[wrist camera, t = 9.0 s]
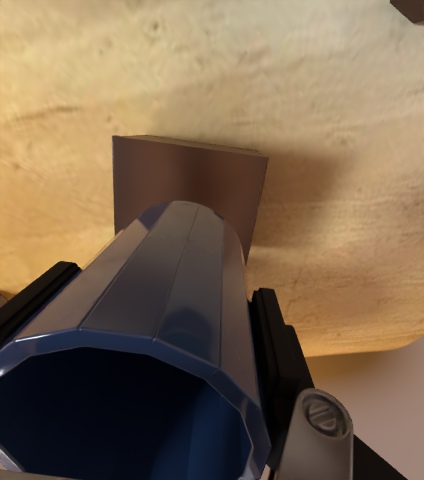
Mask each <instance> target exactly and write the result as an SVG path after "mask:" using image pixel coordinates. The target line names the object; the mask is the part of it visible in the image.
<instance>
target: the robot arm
mask: <svg viewBox="0 0 424 480" xmlns="http://www.w3.org/2000/svg"><path fill="white" fill-rule="evenodd" d="M80 269H81V268H80V267H78V265H77V264H76V263H72V262H64V261H60V262H58V263H57V264H55V265H54V266H53V267H51V268H50V269H49V270H48V271H46V272H45V273H44V274H42V275H41V276H40V277H39V278H37V279H36V280H35V281H34V282H32V283H31V284H30V285H28V286H27V287H26V288H25V289H23V290H22V291H21V292H20V293H18V294H17V295H16V296H14V297H13V298H12V299H11V300H9V301H8V302H7V303H6V304H4V305H3V306H2V307H0V345H1V344H2V343H3V342H4V341H5V340H6V339H7V338H9V337H10V336H11V335H12V334H13V333H14V332H15V331H16V330H17V329H18V328H19V327H20V326H21V325H22V324H23V323H24V322H25V321H26V320H27V319H28V318H30V317H31V316H32V315H33V314H34V313H35V312H36V311H37V310H38V309H39V308H40V307H41V306H42V305H43V304H44V303H45V302H46V301H47V300H48V299H49V298H50V297H52V296H53V295H54V294H55V293H56V292H57V291H58V290H59V289H60V288H61V287H62V286H63V285H64V284H65V283H66V282H67V281H68V280H69V279H70V278H71V277H73V276H74V275H75V274H76V273H77V272H78V271H79V270H80ZM251 306H252V313H253V320H254V327H255V333H256V340H257V347H258V354H259V360H260V367H261V374H262V381H263V387H264V394H265V399H266V406H267V413H268V419H269V426H270V433H271V439H272V449H271V452H270V454H269V457H268V460H267V462H266V464H267V465H268V466H269V468H270V470H269V474H268V477H267V480H408V479H406V478H405V477H404V476H403V475H402V474H400V473H399V472H398V471H397V470H396V469H395V468H393V467H392V466H391V465H390V464H389V463H387V462H386V461H385V460H384V459H383V458H381V457H380V456H379V455H378V454H377V453H376V452H374V451H373V450H372V449H371V448H370V447H369V446H367V445H366V444H365V443H364V442H363V441H361V440H360V439H359V438H358V437H357V436H356V435H354V434H353V424H352V420H351V418H350V415H349V413H348V411H347V410H346V409H345V407H344V406H343V405H342V403H340V402H339V401H338V400H337V399H336V398H335V397H334V396H332V395H330V394H329V393H327V392H325V391H323V390H320V389H315V387H314V384H313V381H312V378H311V375H310V372H309V369H308V367H307V364H306V361H305V358H304V355H303V352H302V349H301V346H300V343H299V341H298V338H297V335H296V332H295V329H294V327H293V326H292V325H286V324H285V323H284V320H283V317H282V313H281V310H280V307H279V304H278V300H277V297H276V294H275V291H274V289H268V288H259V290H258V291H255V290H254V292H253V296H252V301H251ZM0 480H78V479H71V478H63V477H55V476H47V475H40V474H32V473H24V472H16V471H9V470H1V469H0Z"/></svg>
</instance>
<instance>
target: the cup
mask: <svg viewBox="0 0 424 480" xmlns="http://www.w3.org/2000/svg"><path fill="white" fill-rule="evenodd" d="M271 449H272V439H271V433H270V426H269V419H268V413H267V406H266V399H265V394H264V387H263V381H262V374H261V367H260V360H259V354H258V347H257V340H256V333H255V327H254V320H253V313H252V306H251V299H250V292H249V285H248V279H247V272H246V265H245V260H244V256H243V251H242V246H241V243H240V240H239V238H238V236H237V234H236V232H235V231H234V229H233V228H232V226H231V225H230V224H229V223H228V222H227V221H226V220H225V219H224V218H223V217H222V216H221V215H219V214H218V213H216V212H215V211H213V210H212V209H210V208H208V207H205V206H203V205H200V204H197V203H193V202H188V201H168V202H163V203H159V204H156V205H153V206H151V207H149V208H147V209H146V210H144V211H143V212H141V213H140V214H139V215H138V216H137V217H136V218H134V219H133V220H132V221H131V222H130V223H128V224H127V225H126V226H125V227H124V228H123V229H122V230H121V231H120V232H119V233H118V234H117V235H116V236H115V237H113V238H112V239H111V240H110V241H109V242H108V243H107V244H106V245H105V246H104V247H103V248H102V249H101V250H100V251H99V252H98V253H97V254H96V255H95V256H94V257H92V258H91V259H90V260H89V261H88V262H87V263H86V264H85V265H84V266H83V267H82V268H81V269H80V270H79V271H78V272H77V273H76V274H75V275H74V276H73V277H71V278H70V279H69V280H68V281H67V282H66V283H65V284H64V285H63V286H62V287H61V288H60V289H59V290H58V291H57V292H56V293H55V294H54V295H53V296H52V297H50V298H49V299H48V300H47V301H46V302H45V303H44V304H43V305H42V306H41V307H40V308H39V309H38V310H37V311H36V312H35V313H34V314H33V315H32V316H31V317H30V318H28V319H27V320H26V321H25V322H24V323H23V324H22V325H21V326H20V327H19V328H18V329H17V330H16V331H15V332H14V333H13V334H12V335H11V336H10V337H9V338H7V339H6V340H5V341H4V342H3V343H2V344H1V345H0V463H1V464H2V465H3V466H4V467H5V468H6V469H7V470H9V471H16V472H24V473H32V474H40V475H47V476H55V477H63V478H71V479H78V480H259V479H260V478H261V476H262V473H263V470H264V468H265V465H266V462H267V460H268V457H269V454H270V452H271Z"/></svg>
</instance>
